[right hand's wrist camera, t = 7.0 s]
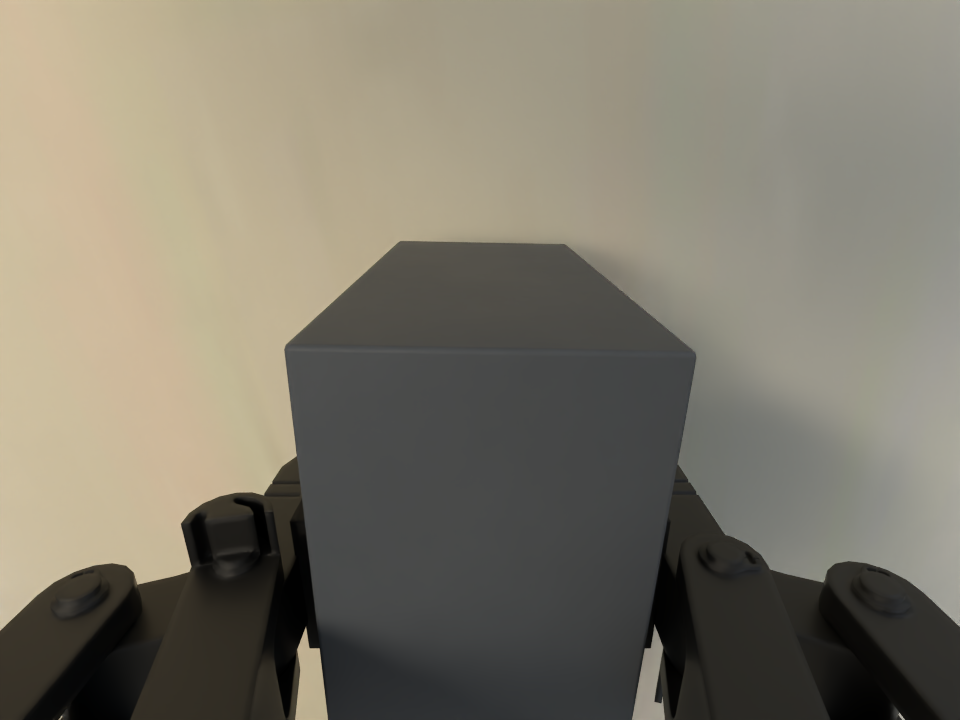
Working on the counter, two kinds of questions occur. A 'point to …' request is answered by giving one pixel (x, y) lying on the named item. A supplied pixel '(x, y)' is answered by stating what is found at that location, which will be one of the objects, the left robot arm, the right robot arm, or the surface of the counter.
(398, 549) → the bar
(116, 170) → the counter surface
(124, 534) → the counter surface
